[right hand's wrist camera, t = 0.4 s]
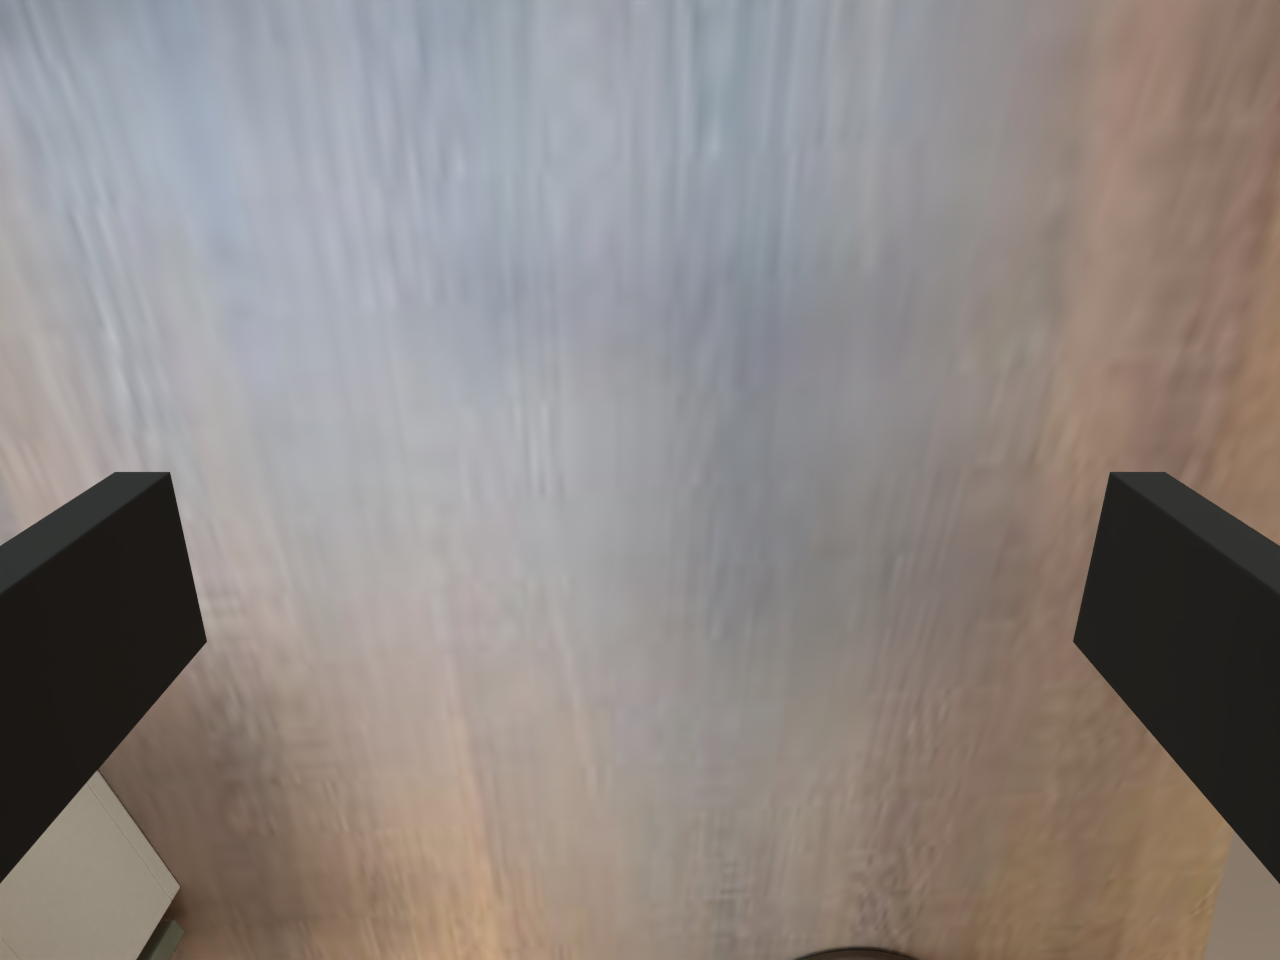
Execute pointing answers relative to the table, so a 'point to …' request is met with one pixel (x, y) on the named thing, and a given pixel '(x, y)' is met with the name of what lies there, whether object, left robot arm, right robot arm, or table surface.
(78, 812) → the cabinet
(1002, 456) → the table surface
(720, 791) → the table surface
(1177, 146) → the table surface
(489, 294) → the table surface
